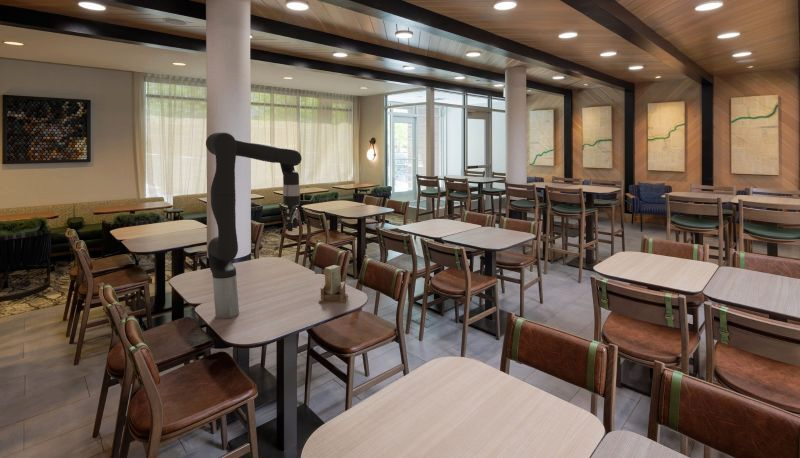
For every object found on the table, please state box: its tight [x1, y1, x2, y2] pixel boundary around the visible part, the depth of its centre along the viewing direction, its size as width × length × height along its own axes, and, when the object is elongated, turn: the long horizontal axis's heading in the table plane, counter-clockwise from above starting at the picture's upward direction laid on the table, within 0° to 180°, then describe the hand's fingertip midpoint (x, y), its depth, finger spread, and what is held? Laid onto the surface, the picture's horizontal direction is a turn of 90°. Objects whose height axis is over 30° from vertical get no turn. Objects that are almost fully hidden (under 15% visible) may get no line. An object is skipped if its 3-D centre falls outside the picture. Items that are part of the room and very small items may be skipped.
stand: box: [318, 281, 349, 304], centre depth 201 cm, size 10×12×7 cm
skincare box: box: [324, 264, 342, 295], centre depth 200 cm, size 6×4×12 cm
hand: (292, 229), depth 200 cm, fingers open, 8 cm apart
